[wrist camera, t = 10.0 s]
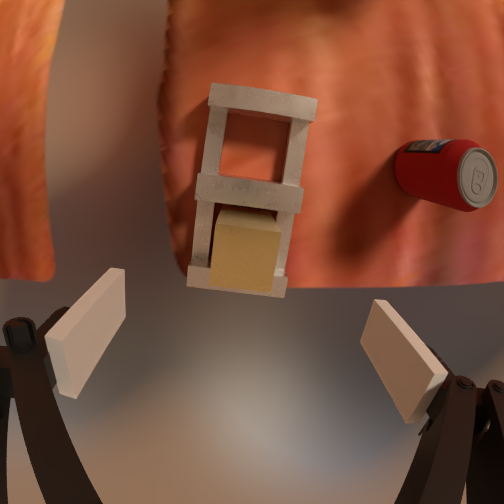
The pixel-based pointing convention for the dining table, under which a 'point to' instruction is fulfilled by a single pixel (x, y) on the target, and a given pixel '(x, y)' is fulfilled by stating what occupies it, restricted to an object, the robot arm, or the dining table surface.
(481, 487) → the robot arm
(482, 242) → the dining table surface
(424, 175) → the beverage can
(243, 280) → the brass block
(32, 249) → the dining table surface
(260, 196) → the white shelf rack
